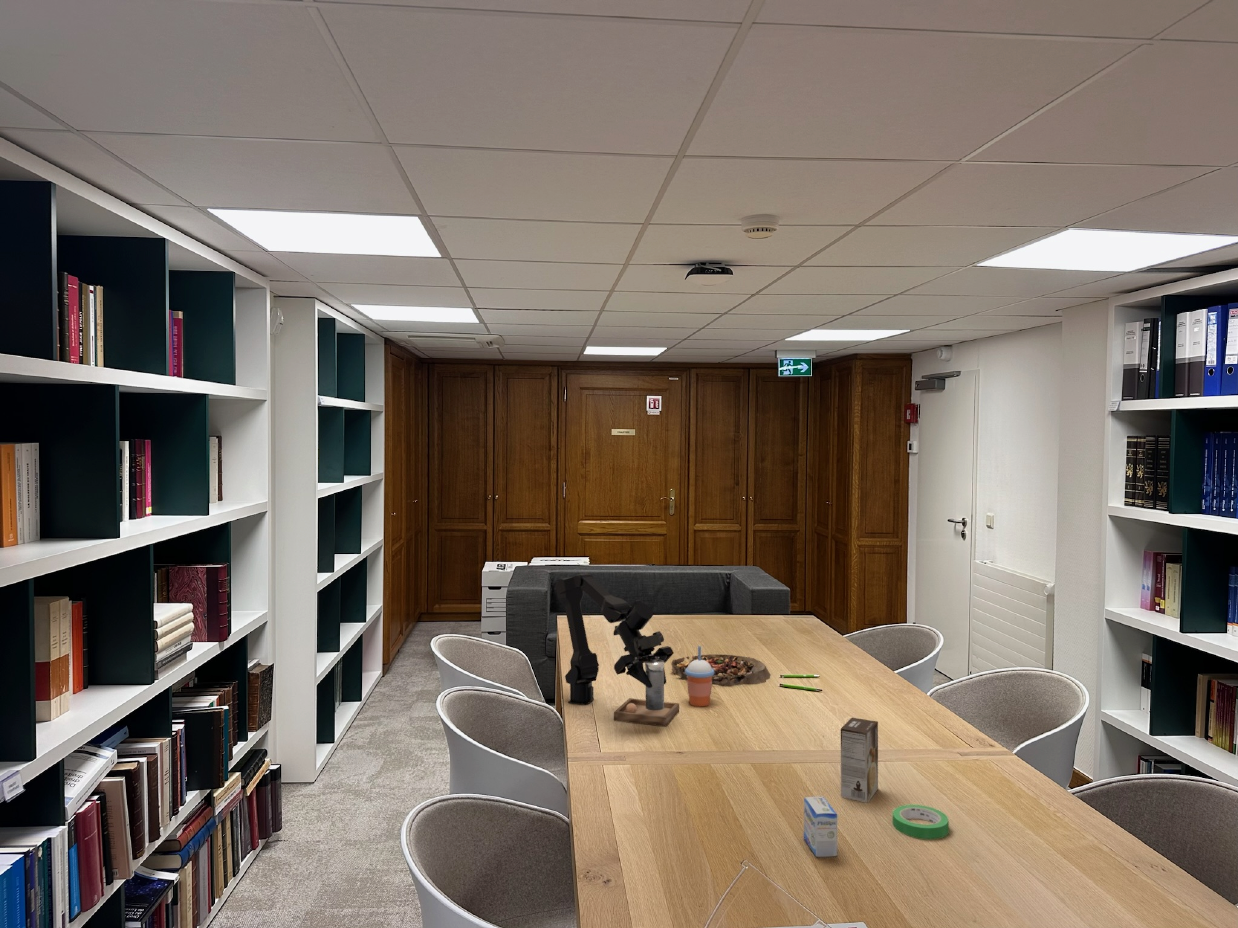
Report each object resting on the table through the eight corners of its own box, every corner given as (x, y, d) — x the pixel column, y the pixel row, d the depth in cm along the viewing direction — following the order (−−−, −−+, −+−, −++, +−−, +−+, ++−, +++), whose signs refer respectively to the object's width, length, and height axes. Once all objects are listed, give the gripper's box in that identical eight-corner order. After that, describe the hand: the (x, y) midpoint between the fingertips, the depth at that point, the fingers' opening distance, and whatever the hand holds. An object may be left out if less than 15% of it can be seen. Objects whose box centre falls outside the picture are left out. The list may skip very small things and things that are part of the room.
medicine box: (803, 838, 166) (803, 796, 166) (824, 837, 166) (824, 795, 166) (815, 857, 158) (815, 813, 158) (837, 856, 158) (837, 812, 158)
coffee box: (851, 783, 193) (851, 716, 193) (878, 788, 189) (878, 720, 189) (839, 797, 185) (840, 727, 185) (868, 803, 182) (868, 732, 181)
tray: (614, 720, 238) (613, 711, 238) (629, 705, 251) (629, 697, 251) (666, 726, 233) (666, 717, 233) (679, 711, 246) (679, 703, 246)
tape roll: (883, 827, 171) (883, 815, 171) (907, 811, 178) (907, 799, 178) (934, 846, 163) (934, 832, 163) (957, 827, 171) (957, 815, 171)
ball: (623, 709, 239) (626, 700, 241) (626, 715, 241) (628, 706, 243) (634, 710, 238) (636, 701, 240) (636, 716, 240) (638, 707, 242)
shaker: (642, 709, 227) (642, 663, 227) (648, 703, 232) (648, 658, 232) (661, 711, 226) (661, 664, 225) (666, 705, 231) (666, 660, 230)
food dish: (659, 685, 278) (658, 662, 278) (687, 662, 309) (687, 642, 309) (760, 692, 265) (759, 669, 265) (779, 668, 295) (778, 647, 296)
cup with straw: (712, 708, 248) (712, 650, 248) (683, 707, 250) (683, 649, 250) (715, 699, 257) (715, 643, 257) (686, 698, 259) (686, 642, 258)
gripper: (620, 627, 226) (646, 675, 217) (669, 618, 237) (695, 663, 229) (602, 650, 232) (627, 697, 224) (651, 640, 244) (676, 684, 235)
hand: (658, 685), depth 228 cm, fingers closed on shaker, 5 cm apart
